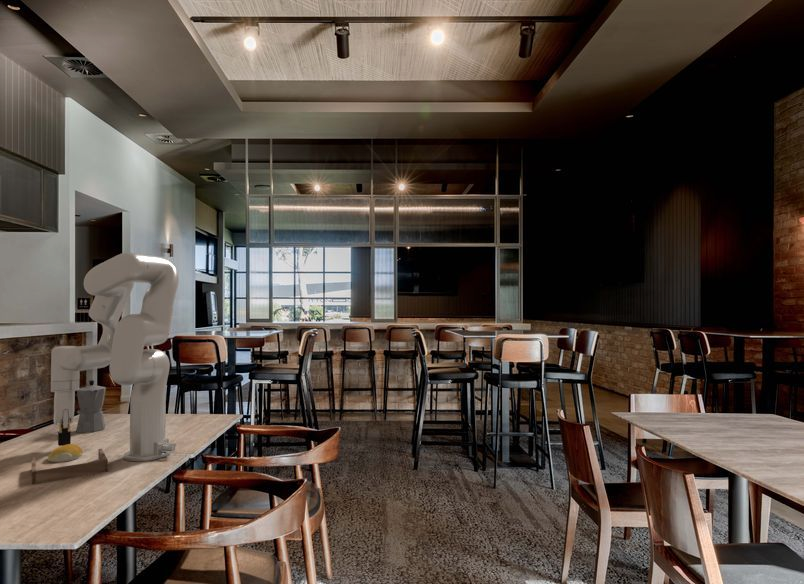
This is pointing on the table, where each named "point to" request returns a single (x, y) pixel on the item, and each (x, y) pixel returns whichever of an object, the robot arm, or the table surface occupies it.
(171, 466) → the table surface
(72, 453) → the bread roll
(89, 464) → the walnut open-ended frame
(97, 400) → the coffeepot
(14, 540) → the table surface
